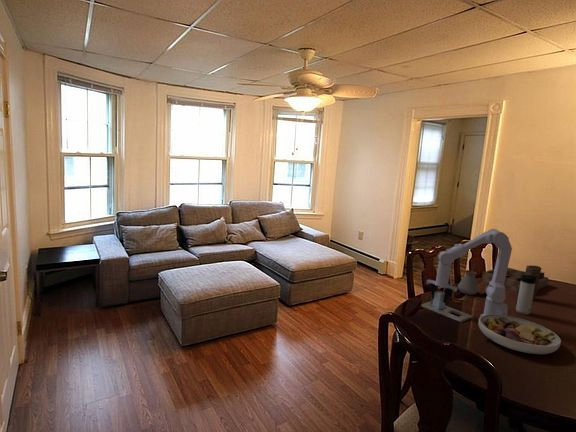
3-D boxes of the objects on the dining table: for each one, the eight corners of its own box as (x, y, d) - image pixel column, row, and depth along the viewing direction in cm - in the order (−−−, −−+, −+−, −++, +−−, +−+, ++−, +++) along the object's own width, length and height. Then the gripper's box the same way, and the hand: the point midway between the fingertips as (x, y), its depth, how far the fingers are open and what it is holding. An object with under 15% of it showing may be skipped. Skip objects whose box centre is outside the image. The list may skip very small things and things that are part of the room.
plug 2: (444, 308, 182) (446, 293, 181) (438, 309, 181) (440, 294, 180) (438, 305, 186) (440, 291, 185) (432, 306, 184) (434, 291, 183)
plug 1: (433, 298, 199) (434, 291, 199) (440, 300, 197) (441, 293, 197) (430, 302, 193) (431, 295, 192) (438, 304, 190) (439, 297, 190)
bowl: (484, 318, 177) (487, 303, 176) (560, 340, 158) (563, 323, 157) (470, 338, 154) (472, 321, 152) (556, 367, 135) (560, 347, 134)
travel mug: (532, 316, 184) (539, 278, 181) (518, 314, 185) (525, 276, 182) (527, 311, 190) (533, 274, 187) (513, 309, 191) (519, 273, 188)
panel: (471, 317, 175) (471, 315, 175) (461, 322, 169) (461, 319, 169) (431, 302, 192) (432, 300, 192) (421, 306, 186) (421, 303, 185)
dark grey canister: (538, 302, 205) (544, 268, 203) (525, 301, 206) (531, 267, 203) (529, 297, 213) (535, 264, 210) (517, 296, 213) (522, 263, 210)
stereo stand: (546, 287, 235) (548, 277, 234) (527, 295, 215) (529, 284, 214) (502, 276, 256) (503, 266, 255) (481, 282, 237) (483, 272, 236)
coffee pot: (476, 297, 205) (480, 272, 203) (455, 292, 212) (458, 268, 210) (482, 288, 223) (485, 265, 221) (461, 284, 229) (465, 261, 227)
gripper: (460, 277, 179) (456, 303, 181) (431, 270, 189) (428, 294, 191) (456, 280, 174) (452, 306, 176) (426, 272, 184) (423, 297, 185)
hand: (439, 300), depth 183 cm, fingers closed on plug 2, 5 cm apart
